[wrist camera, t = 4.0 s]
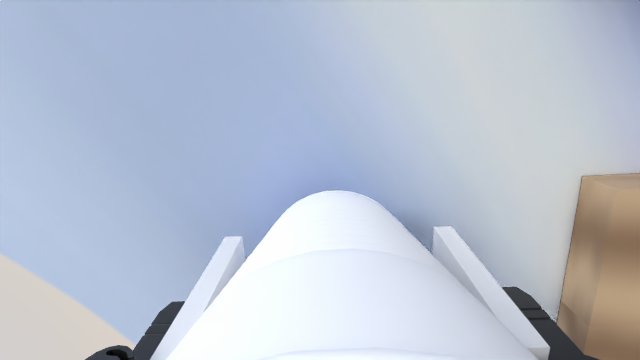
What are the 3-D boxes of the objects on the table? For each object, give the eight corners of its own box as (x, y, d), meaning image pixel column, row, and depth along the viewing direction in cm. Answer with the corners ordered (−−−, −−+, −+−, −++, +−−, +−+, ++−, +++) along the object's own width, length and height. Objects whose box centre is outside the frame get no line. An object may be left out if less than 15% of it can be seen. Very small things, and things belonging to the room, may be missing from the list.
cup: (217, 313, 17) (37, 718, 6) (246, 121, 14) (-12, 285, 3) (407, 350, 17) (531, 780, 7) (475, 172, 14) (897, 457, 4)
